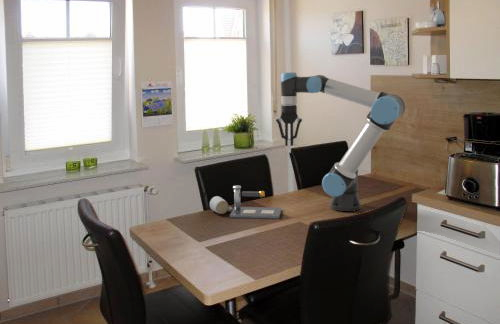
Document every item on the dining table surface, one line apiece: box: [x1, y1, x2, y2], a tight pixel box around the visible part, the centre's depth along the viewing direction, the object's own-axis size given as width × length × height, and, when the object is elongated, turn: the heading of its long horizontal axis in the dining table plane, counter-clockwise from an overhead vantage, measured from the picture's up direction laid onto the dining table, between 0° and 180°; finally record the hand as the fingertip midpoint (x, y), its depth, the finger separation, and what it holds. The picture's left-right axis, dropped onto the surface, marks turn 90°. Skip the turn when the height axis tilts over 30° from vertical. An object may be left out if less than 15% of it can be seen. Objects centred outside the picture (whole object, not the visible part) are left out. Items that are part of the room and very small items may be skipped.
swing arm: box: [241, 190, 265, 198], centre depth 259 cm, size 11×3×2 cm, turn 82°
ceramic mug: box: [209, 195, 234, 215], centre depth 261 cm, size 11×8×8 cm
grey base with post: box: [229, 184, 283, 220], centre depth 256 cm, size 24×14×13 cm, turn 82°
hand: (289, 152), depth 257 cm, fingers closed
